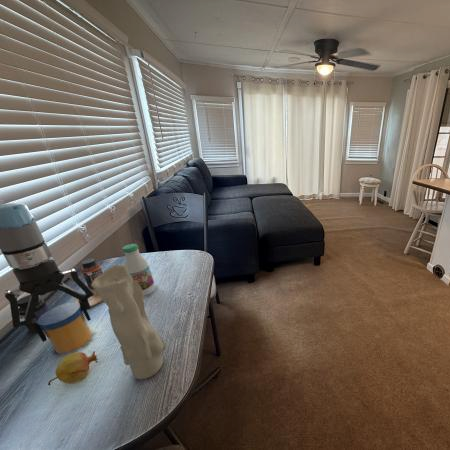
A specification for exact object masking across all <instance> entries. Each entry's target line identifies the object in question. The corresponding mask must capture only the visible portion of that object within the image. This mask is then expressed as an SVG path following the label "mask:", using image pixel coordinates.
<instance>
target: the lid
mask: <svg viewBox="0 0 450 450" xmlns="http://www.w3.org/2000/svg"><path fill="white" fill-rule="evenodd" d="M81 314H83V310H82V308H81V306H80V304H79V303H75V302H73V303H72V302H67V303H66V302H65V303H63V304H60V305H56V306H55V307H53V308H50V309H49V311H47V312H46V313H44V314H43V315H42V316H40V318H39V319H38V321H37V323H38V325H39V327H40V328H41V330H43V331H44V330H54V329H57V328H60V327H63V326H65V325H67V324H69V323H71V322H73V321H74V320H75V319H77V318H78V317H79V316H80V315H81Z"/></svg>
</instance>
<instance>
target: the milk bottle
mask: <svg viewBox="0 0 450 450" xmlns="http://www.w3.org/2000/svg"><path fill="white" fill-rule="evenodd" d="M122 252H123V254H124V255H125V258H124V259H125V260H124V263H123V265H124V266H126V267H127V269H128V273H129V275H131V276H132V278H133V280H134V281H135V280H137V282H138V283H139V285H140V287H141V288H142V291H143V297H145V296H148V295H150V294H151V293H153V292H154V291H155V290H156V284H155V280H154V277H153V275H152V270H151V268H150V266H149V262H148V260H147V259H146V258H145V256H143V255H142V254H141V253H140V251H139V246H138V244H137V243H130V244H126V245H125V246H123V247H122Z"/></svg>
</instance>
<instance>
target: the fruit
mask: <svg viewBox="0 0 450 450" xmlns="http://www.w3.org/2000/svg"><path fill="white" fill-rule="evenodd" d="M97 357H98V354H96V352H95V351H93V352H92V353H91V355H90V356H87V354H86V352H83V351H76V352H72V353H70V354H67V355H66V356H64V357H63V358H61V360H60V361H59V362H57V363H58V364H57V366H56V369H55V377H54V378H52V379H50V380H49V381H48V383H47V385H48V386H51V383H52V382H53V381H54V380H57V379H58V380H59V381H60V382H62V383H65V384H74V383H75V384H76V383H78V382H80V381H81V380H83V379H85V378H86V377H87V375H88V374H89V372H90V364H91V363H92V362H95V363H98V360H99V359H98V358H97Z"/></svg>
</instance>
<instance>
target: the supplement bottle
mask: <svg viewBox="0 0 450 450" xmlns="http://www.w3.org/2000/svg"><path fill="white" fill-rule="evenodd" d="M81 265H82V267H81V269H80V270H81V273H82V275H83V278H84V280H85V284H86V285H87V286H88V287H89V288H90V289H94V288H93V287H92V282H93V280H94V279H95V278H97V277H98V276H100V275H102V274H103V273H104V271H103V268H102V266H101V264H100V263H98V262H97V261H96V260H95V258H88V259H85V260H83V261H82V262H81Z"/></svg>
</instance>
